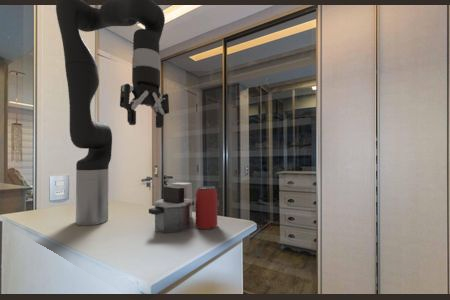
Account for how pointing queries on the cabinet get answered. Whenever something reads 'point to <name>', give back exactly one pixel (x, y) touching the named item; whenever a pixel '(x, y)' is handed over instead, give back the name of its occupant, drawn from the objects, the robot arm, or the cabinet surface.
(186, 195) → the skincare box
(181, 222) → the pot
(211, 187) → the beer can
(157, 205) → the lid
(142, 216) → the cabinet surface
